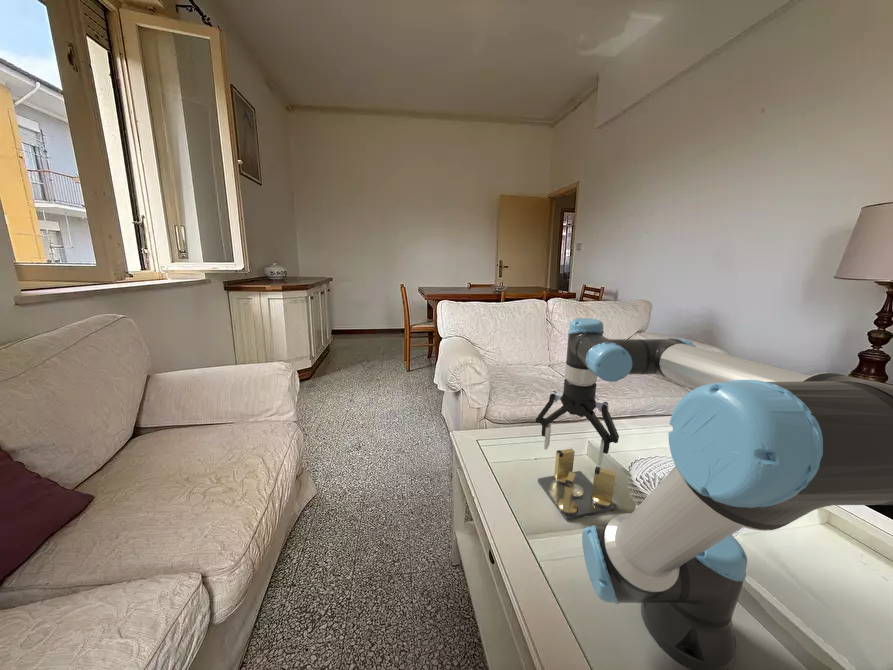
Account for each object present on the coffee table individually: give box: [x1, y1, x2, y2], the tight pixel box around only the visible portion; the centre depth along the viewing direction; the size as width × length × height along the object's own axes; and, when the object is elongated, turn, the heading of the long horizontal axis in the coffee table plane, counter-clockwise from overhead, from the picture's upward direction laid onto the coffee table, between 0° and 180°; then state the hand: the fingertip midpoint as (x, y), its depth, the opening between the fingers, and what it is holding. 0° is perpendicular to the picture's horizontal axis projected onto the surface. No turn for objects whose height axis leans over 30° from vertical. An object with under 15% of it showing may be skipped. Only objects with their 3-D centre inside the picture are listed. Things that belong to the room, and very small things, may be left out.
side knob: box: [592, 465, 617, 506], centre depth 96 cm, size 5×5×10 cm
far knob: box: [553, 448, 576, 483], centre depth 105 cm, size 5×5×10 cm
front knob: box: [558, 471, 577, 514], centre depth 94 cm, size 5×5×10 cm
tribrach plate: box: [537, 470, 615, 522], centre depth 102 cm, size 17×17×2 cm
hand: (572, 454), depth 91 cm, fingers open, 13 cm apart
